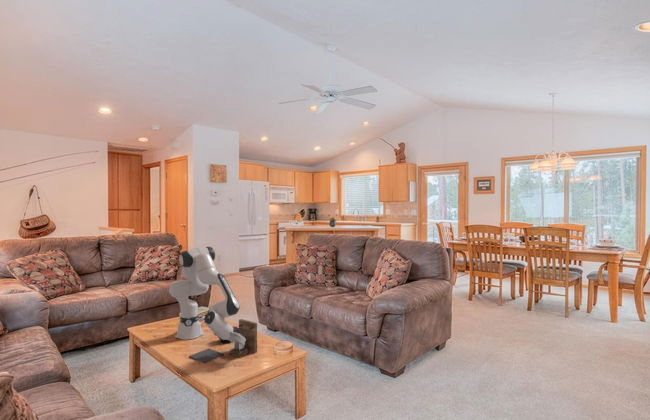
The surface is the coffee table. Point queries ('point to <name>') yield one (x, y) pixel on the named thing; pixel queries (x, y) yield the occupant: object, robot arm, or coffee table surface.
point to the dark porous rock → (233, 331)
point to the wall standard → (247, 337)
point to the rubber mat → (206, 355)
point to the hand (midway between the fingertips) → (238, 342)
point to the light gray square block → (238, 347)
